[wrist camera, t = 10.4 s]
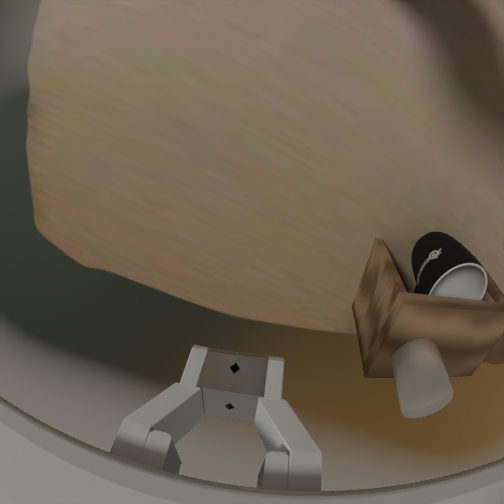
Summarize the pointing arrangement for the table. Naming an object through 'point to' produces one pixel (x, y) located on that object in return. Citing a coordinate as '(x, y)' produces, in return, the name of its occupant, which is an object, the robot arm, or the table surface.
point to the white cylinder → (421, 378)
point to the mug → (447, 268)
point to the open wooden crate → (421, 320)
